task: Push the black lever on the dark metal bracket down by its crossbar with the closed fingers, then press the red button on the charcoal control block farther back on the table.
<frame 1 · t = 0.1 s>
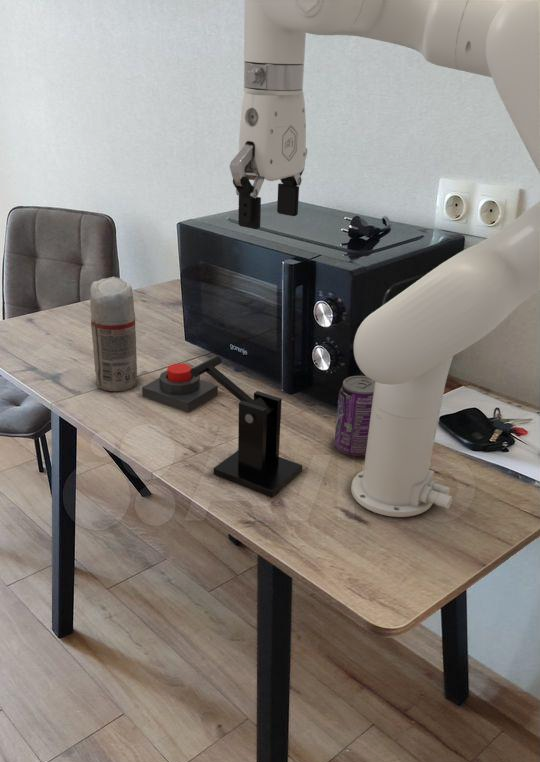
hand: (268, 220, 98), 37 cm above the table, tool pointing down, fingers open, 9 cm apart
button block: (180, 395, 133), on the table
button: (179, 373, 131), point 5 cm above the table, slide at 0.1 cm
bracket: (258, 473, 111), on the table
spray can: (118, 384, 137), on the table
beverage can: (354, 449, 119), on the table
lever: (234, 389, 106), point 13 cm above the table, hinge at 25.0°
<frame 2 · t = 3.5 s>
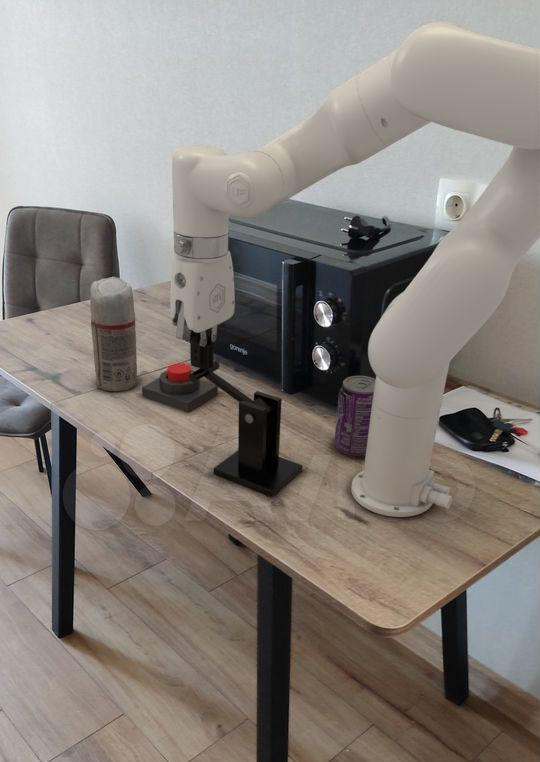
hand: (202, 366, 108), 15 cm above the table, tool pointing down, fingers closed
lever: (233, 392, 107), point 13 cm above the table, hinge at 19.6°, touching gripper
everything else where it was.
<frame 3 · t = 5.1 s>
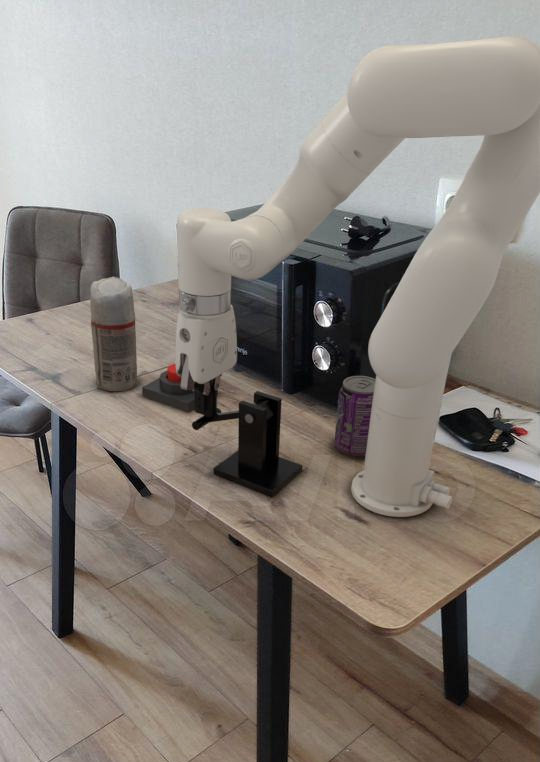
hand: (205, 412, 112), 8 cm above the table, tool pointing down, fingers closed
lever: (234, 414, 109), point 9 cm above the table, hinge at -24.1°
everything else where it was.
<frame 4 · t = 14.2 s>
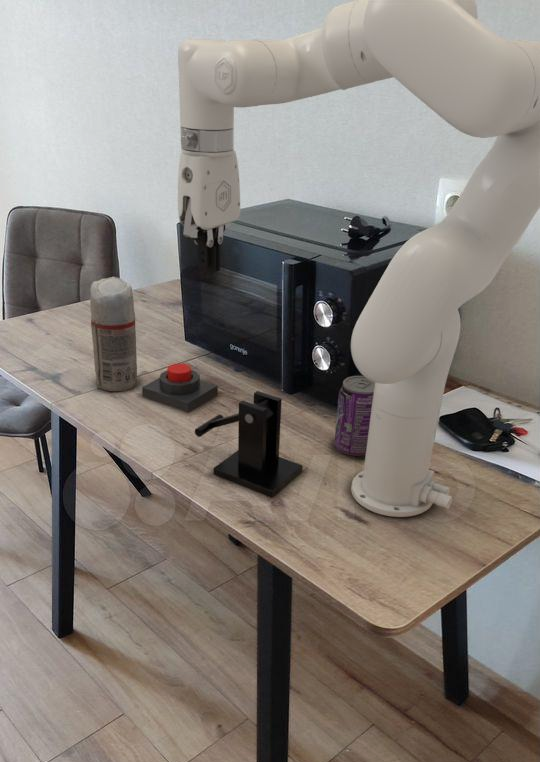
hand: (209, 270, 110), 27 cm above the table, tool pointing down, fingers closed
lever: (235, 418, 109), point 8 cm above the table, hinge at -30.0°
everything else where it was.
at the end: lever at -30° (first picture: +25°); button pushed in 1.3 cm at the most during the clip, back to where it started at the end; button slide at 0.1 cm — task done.
